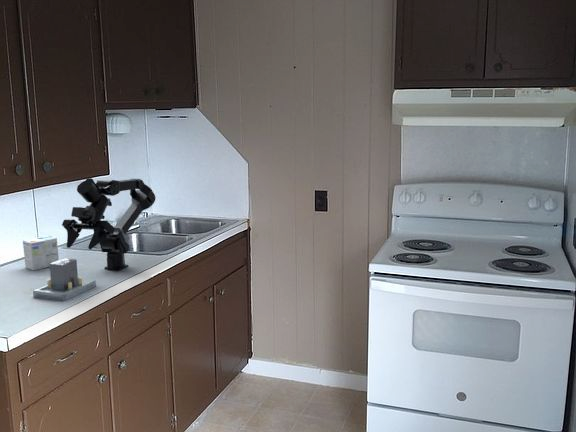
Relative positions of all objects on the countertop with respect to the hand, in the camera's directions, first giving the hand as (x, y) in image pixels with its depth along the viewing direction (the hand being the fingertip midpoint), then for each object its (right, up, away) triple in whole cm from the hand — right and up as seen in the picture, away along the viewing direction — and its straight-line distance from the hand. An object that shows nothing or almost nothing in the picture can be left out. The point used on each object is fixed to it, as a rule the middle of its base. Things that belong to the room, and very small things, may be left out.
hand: (78, 248), depth 199 cm
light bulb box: (-22, -8, +24) cm, 34 cm away
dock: (-2, -14, -5) cm, 15 cm away
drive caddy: (-2, -13, -5) cm, 14 cm away
